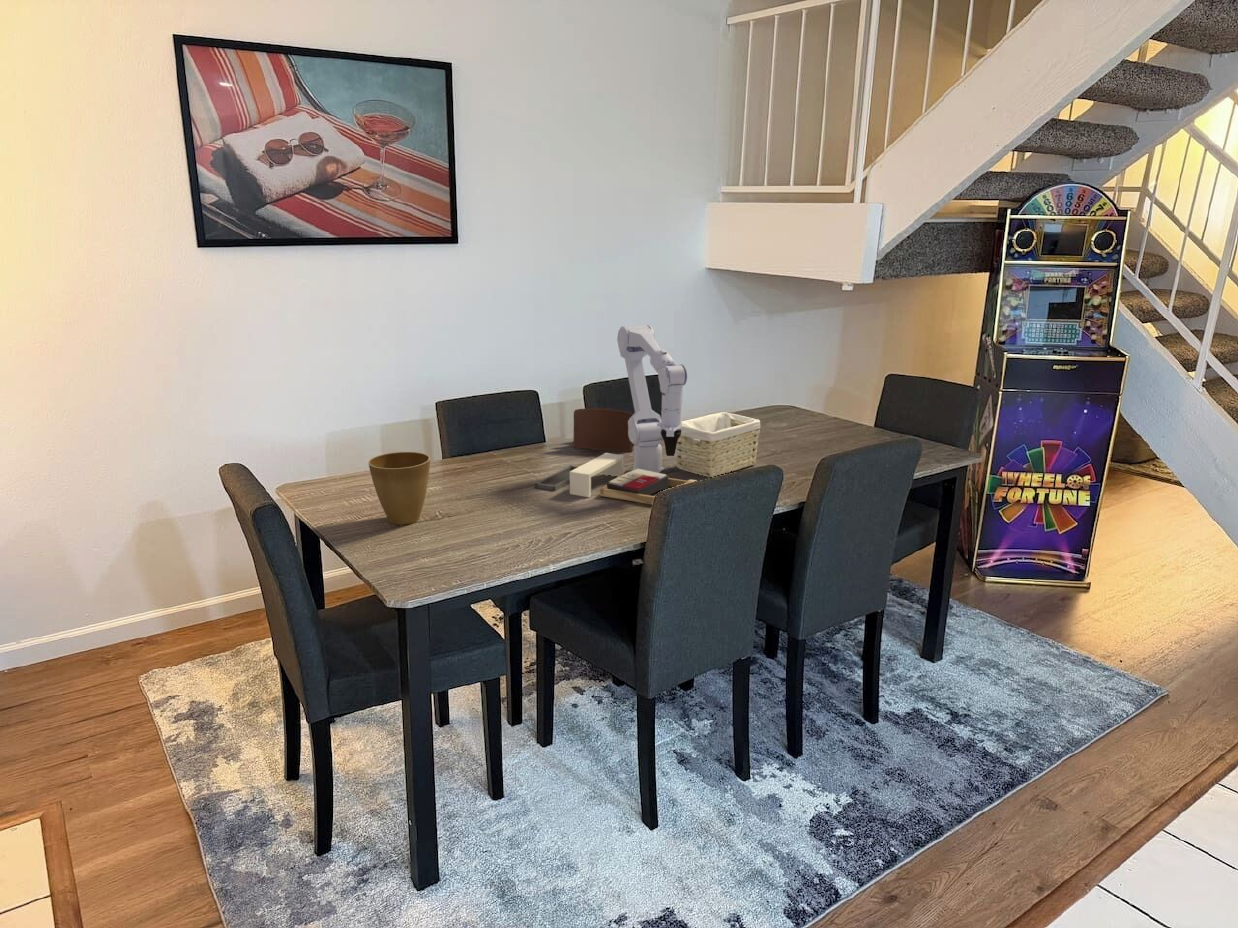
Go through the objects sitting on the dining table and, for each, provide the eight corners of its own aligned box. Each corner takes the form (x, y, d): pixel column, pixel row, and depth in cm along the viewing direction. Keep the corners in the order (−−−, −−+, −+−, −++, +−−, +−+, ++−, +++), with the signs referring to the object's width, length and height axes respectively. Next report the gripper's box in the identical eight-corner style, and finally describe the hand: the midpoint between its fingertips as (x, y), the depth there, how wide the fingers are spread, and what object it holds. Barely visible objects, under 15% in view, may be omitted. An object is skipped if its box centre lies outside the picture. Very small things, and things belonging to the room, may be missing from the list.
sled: (628, 478, 257) (628, 470, 256) (696, 488, 248) (696, 480, 247) (600, 495, 241) (600, 487, 240) (671, 507, 232) (671, 498, 231)
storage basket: (709, 480, 257) (711, 432, 253) (669, 468, 268) (671, 422, 264) (760, 465, 272) (763, 419, 268) (721, 455, 284) (723, 410, 280)
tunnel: (571, 468, 267) (571, 448, 265) (623, 476, 259) (623, 455, 258) (533, 488, 248) (533, 466, 246) (588, 497, 240) (588, 474, 239)
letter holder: (632, 452, 286) (632, 410, 282) (573, 449, 289) (572, 407, 285) (637, 444, 295) (637, 403, 291) (579, 441, 299) (579, 401, 295)
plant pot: (408, 506, 231) (405, 448, 227) (445, 519, 222) (442, 458, 218) (360, 521, 220) (355, 460, 216) (397, 534, 211) (392, 471, 207)
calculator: (605, 480, 242) (637, 466, 253) (606, 495, 243) (637, 480, 255) (638, 488, 236) (669, 473, 247) (638, 503, 237) (669, 487, 249)
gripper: (658, 402, 251) (657, 448, 255) (655, 413, 237) (654, 461, 241) (683, 403, 250) (682, 449, 254) (681, 414, 237) (680, 462, 240)
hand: (670, 455), depth 248 cm, fingers closed
